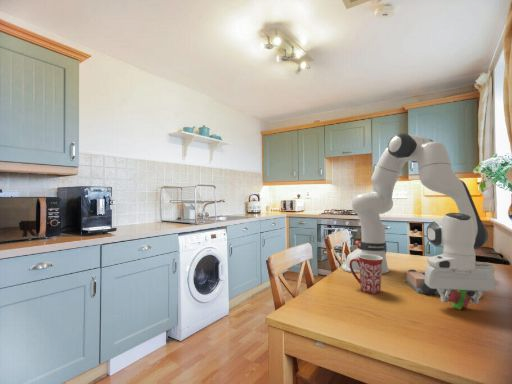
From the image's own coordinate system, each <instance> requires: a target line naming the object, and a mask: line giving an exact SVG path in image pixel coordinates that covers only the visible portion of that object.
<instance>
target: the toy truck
mask: <svg viewBox="0 0 512 384" xmlns="http://www.w3.org/2000/svg"><path fill="white" fill-rule="evenodd" d="M405 276H406V277H404V282H405V283H406V284H408V286H410V287H411V289H413V290H414V291H416V293H417V294H425V295H427V296H432V295H440V294H439V292H438V291H437V289H432V288H430V287H428V286H427V285H426V284H425V271H424V272H423V271H417V270H415V269H409V270H408V271H406V275H405ZM447 290H448V289H444V292H443V294H444V295H445V294H446V291H447ZM451 291H452V290H451ZM451 291H450V293H449V294H448V296H450V294H451ZM456 291H457V290H456ZM466 291H468V292H467V295H468V293H469V296H471V297H473V296H474V294H475V293H476V292H474V291H472V290H466Z"/></svg>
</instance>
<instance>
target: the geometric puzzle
mask: <svg viewBox="0 0 512 384" xmlns="http://www.w3.org/2000/svg"><path fill="white" fill-rule="evenodd" d="M451 290H452V289H448V290H447V291H446V294H445V296H447V297H448V302H449V303H450V304H451V306H452V307H454V308H456V309H458V310H460V311H462V308H463V310H464V309H467V308H468V305H469V304H470V305H472V303H471V301H472V300H471V299H470V297H472V296H469V293H468V295H467V292H468V291H466V290H457V291H456V290H452V291H451ZM450 291H451V294H450V295H448V294H449V293H450Z"/></svg>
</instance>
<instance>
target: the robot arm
mask: <svg viewBox="0 0 512 384" xmlns="http://www.w3.org/2000/svg"><path fill="white" fill-rule="evenodd" d="M410 161H411V162H412V163H416V164H417V170H418V177H419V180H420V183H421V185H423V186H424V187H425V188H426V189H428V190H430V191H432V192H436V193H439V194H442V195H445V196H448V197H449V198H450V199H452V201H454V203H455V204H456V207H457V210H458V212H449V213H445V214H444V216H443V218H442V219H438V220H435V221H432V222H430V223H429V224H428V226H427V227H426V239H427V241H428V242H430V243H431V244H432V245H434V246H437V247H442V253H441V254H438V255H432V256H429V257H427V259H426V262H427V263H428V264H427V266H425V270H424V272H425V284H426V285H427V286H428V287H430V288H432V289H437V291H438V292H439V294H438V295H440V301H441V302H443V303H448V302H449V301H448V299H449V298H448V297H449V296H448V297H447V296H445V295H444V294H443V292H444V289H452V290H472V291H474V292H476V293H475V294H474V296H471V297H470V303H471V304H472V305H474V304H475V305H478V304H479V300H480V299H481V297H482V296H483V294H484V293H483V292H495V290H496V289H497V286H496V285H497V283H496V277H495V267H494V266H493V264H492V263H490V262H487V261H486V262H483V261H481V262H480V261H476V251H475V250H479V249H481V248H482V247H484V246H485V244H486V243H487V242H488V241H489V232H488V229H487V228H486V226H485V225H484V223H483V221H482V219H481V216H480V215H479V212H478V210H477V208H476V205H475V202H474V199H473V197H472V195H471V193H470V190H469V188H468V186H467V185H466V182H464V181H463V179H460V178H459V176H457V175H456V173H455V172H454V170H453V167H452V163H451V159H450V155H449V153H448V150H447V148H446V145H444V144H443V143H442V142H439V141H434V140H432V139H430V138H427V137H423V136H420V135H414V134H408V133H396V134H394V135H392V137H391V138H390V139H389V140H388V143H387V147H386V148H385V149H384V150H383V152H382V154H381V156H380V158H379V160H378V161H377V164H376V167H375V168H374V171H373V173H372V176H371V178H370V181H371V184H372V186H371V191H370V192H364V193H360V194H358V195H355V197H353V199H352V202H351V207H352V209H353V211H354V212H355V213H356V214H357V217H358V219H359V222H360V228H361V230H360V233H361V240H360V241H359V240H356V241H355V245H356V246H357V248H356V249H354V250H353V251H352V252H350V253H349V254H347V256H346V260H345V262H344V263H342V264H341V269H342V270H343V271H345V272H347V273H352V272H351V269H350V261H351V260H352V259H358V260H359V255H363V254H368V255H376V256H380V257H382V258H383V260H382V272H381V275H382V274H387V273H389V272H390V269H389V266H388V261H387V249H388V247H387V242H386V227H385V224H383V222H382V220H381V216H380V215H383V214H385V213H387V212H389V211H391V210H392V209H393V206H394V201H393V193H394V188H395V186H396V183H397V180H398V179H399V177H400V174H401V172H402V170H403V168H404V166H405V164H406V163H407V162H410ZM352 268H353V271H354V272H355V274H360V267H359V265H358V263H357V262H356V261H353V262H352ZM471 300H472V301H471Z"/></svg>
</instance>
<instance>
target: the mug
mask: <svg viewBox="0 0 512 384" xmlns="http://www.w3.org/2000/svg"><path fill="white" fill-rule="evenodd" d="M382 260H383V258H382V257H380V256H376V255H368V254H363V255H359V260H358V259H352V260H351V261H350V269H351V272H350V273H352V275H353V277H354V279H356V281H357V282H358V283H359V285H360V290H361V291H362V292H365V293H367V294H373V295H374V294H379V293H381V288H382V287H381V285H382V274H381V272H382ZM353 261H356V262H357V263H358V265H359V267H360V273H359V277H358V276H357V275H358V274H357V273H355V272H354V271H353V268H352V262H353Z"/></svg>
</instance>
